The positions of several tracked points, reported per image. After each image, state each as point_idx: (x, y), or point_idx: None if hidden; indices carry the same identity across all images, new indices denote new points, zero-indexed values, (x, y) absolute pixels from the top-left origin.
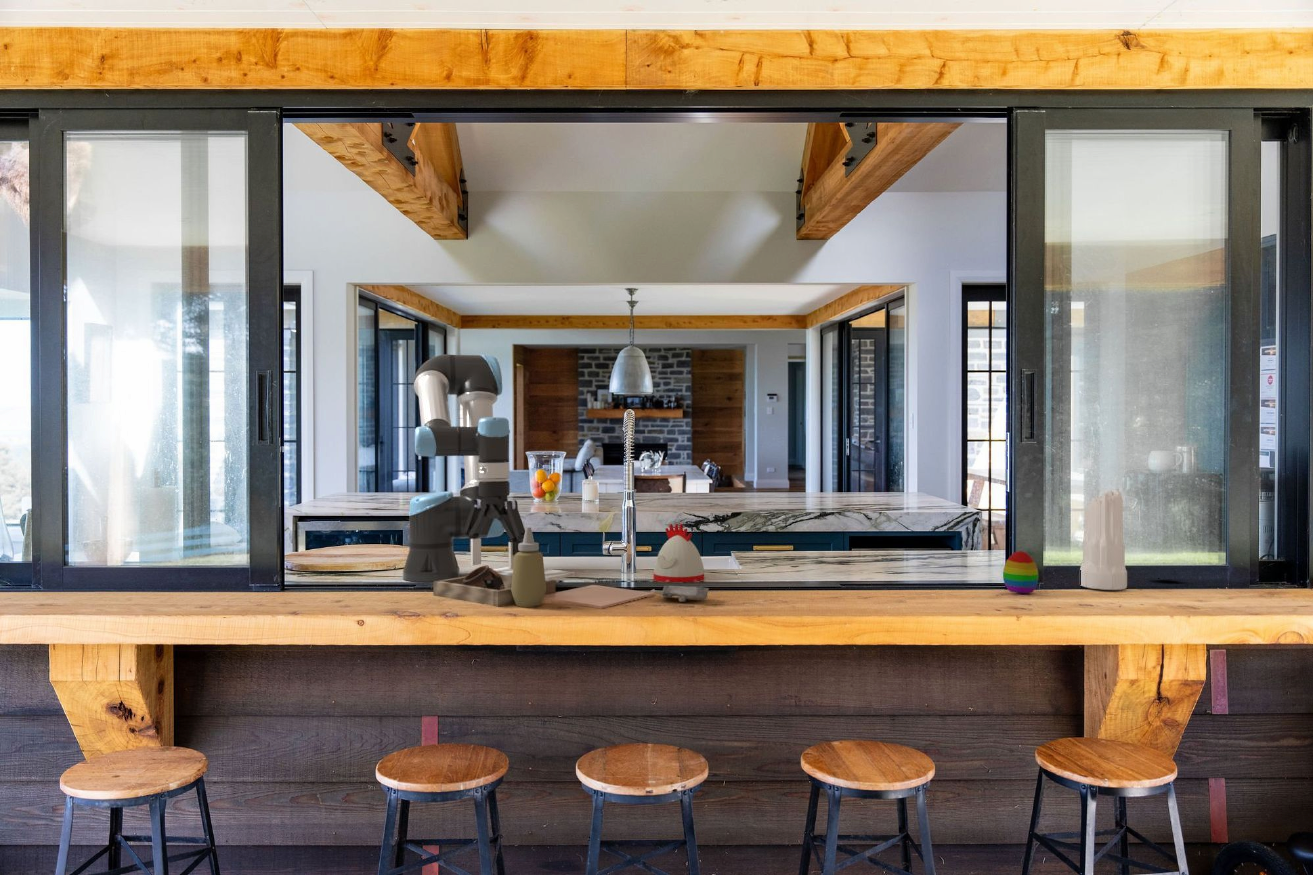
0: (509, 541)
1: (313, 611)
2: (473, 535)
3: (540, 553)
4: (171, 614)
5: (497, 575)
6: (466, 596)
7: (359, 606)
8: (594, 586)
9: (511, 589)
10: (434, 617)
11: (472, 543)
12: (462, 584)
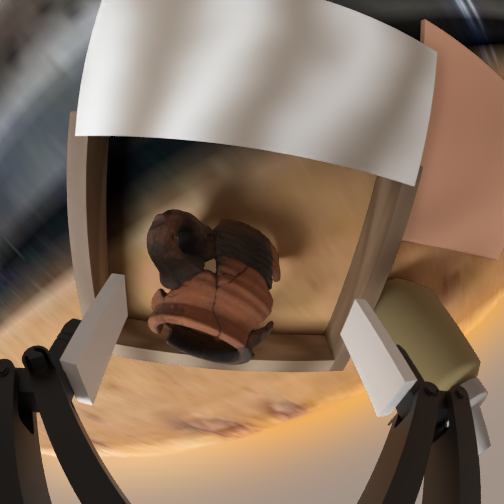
0: (388, 424)
1: (100, 437)
2: (74, 410)
3: (477, 374)
4: (41, 446)
5: (269, 306)
6: None
7: (106, 415)
8: (440, 44)
9: None
10: (274, 423)
11: (97, 386)
12: (100, 265)
